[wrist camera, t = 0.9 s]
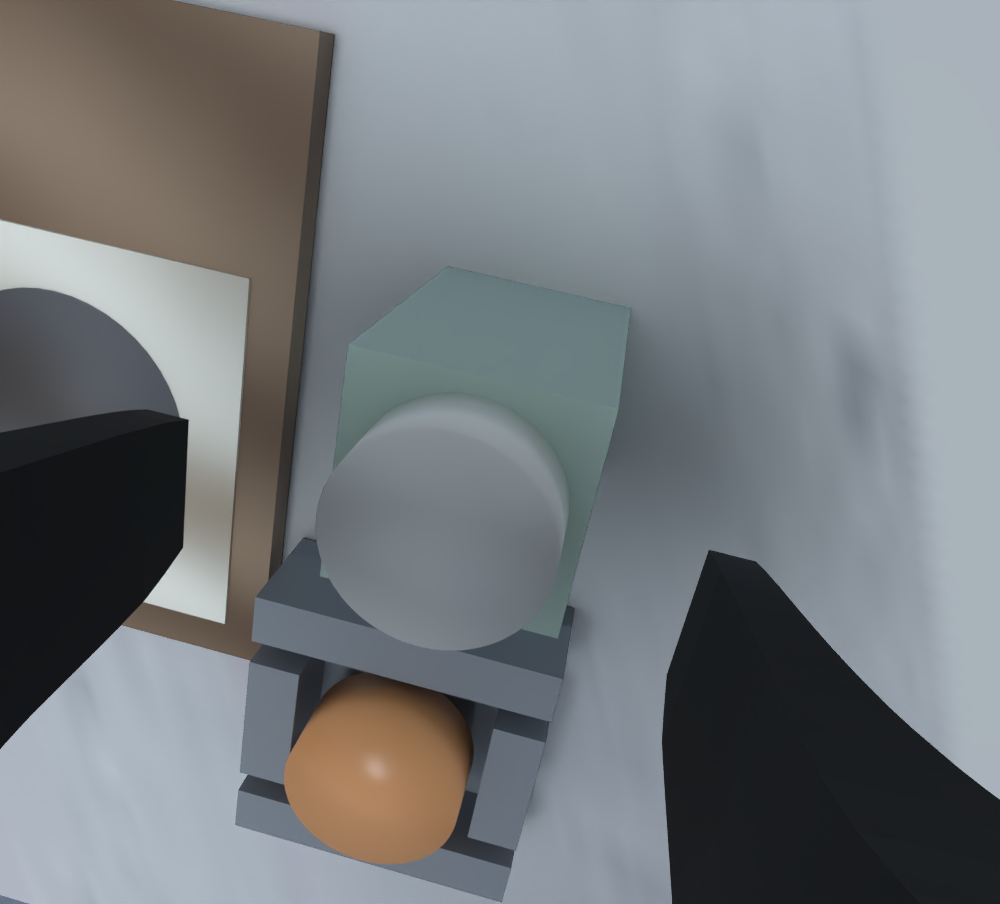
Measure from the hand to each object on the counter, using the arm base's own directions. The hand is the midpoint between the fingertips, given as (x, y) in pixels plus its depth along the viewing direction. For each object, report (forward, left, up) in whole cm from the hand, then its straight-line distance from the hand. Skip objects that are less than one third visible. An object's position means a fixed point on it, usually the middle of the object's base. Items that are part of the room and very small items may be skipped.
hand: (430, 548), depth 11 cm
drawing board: (-2, +10, -8) cm, 13 cm away
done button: (-9, +1, -6) cm, 11 cm away
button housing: (-9, +1, -8) cm, 12 cm away
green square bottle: (0, 0, -8) cm, 8 cm away
